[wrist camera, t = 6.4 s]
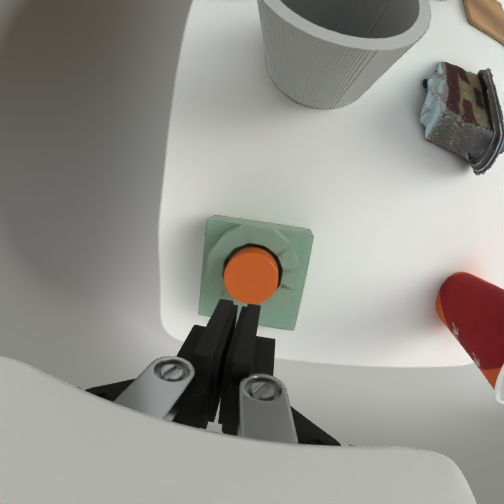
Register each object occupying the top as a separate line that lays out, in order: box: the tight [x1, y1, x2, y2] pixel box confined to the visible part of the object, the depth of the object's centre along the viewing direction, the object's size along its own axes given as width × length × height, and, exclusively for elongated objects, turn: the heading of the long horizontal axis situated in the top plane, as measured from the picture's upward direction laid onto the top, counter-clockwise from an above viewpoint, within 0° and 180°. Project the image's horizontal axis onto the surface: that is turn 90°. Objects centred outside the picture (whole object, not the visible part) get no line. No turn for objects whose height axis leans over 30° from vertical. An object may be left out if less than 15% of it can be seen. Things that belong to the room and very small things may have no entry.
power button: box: [224, 247, 278, 304], centre depth 20 cm, size 4×4×2 cm
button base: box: [199, 215, 314, 331], centre depth 23 cm, size 8×8×4 cm
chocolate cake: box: [420, 62, 504, 175], centre depth 18 cm, size 10×7×12 cm
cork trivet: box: [463, 0, 504, 45], centre depth 14 cm, size 8×7×1 cm
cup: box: [257, 0, 431, 109], centre depth 14 cm, size 9×9×12 cm
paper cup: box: [436, 272, 504, 404], centre depth 17 cm, size 8×8×14 cm
